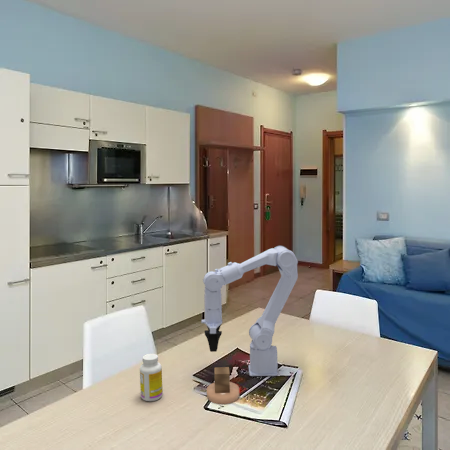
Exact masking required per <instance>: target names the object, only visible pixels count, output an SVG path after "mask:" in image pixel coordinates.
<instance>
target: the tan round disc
mask: <svg viewBox="0 0 450 450" xmlns="http://www.w3.org/2000/svg"><path fill="white" fill-rule="evenodd" d="M206 397H207V400H208V401H209V402H211V403H212V404H213V403H214V404H217V405H228V404H232V403H235V402H237V401H238V400H239V398H240V387H239V385H238V384H236V383H235V382H232V381H230V393H215V382H212V383H210V384H209V385H207V387H206ZM238 397H239V398H238Z"/></svg>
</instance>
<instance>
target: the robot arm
mask: <svg viewBox="0 0 450 450" xmlns="http://www.w3.org/2000/svg"><path fill="white" fill-rule="evenodd" d="M298 263H299V260H298V259H297V256H296V255H295V253H294V252H293V251H292V250H290V249H288V248H287V247H286V246H284V245H277V246H275V247H274V248H273V247H272V248H269V249H266V250H265V251H263V252H261V253H259V254H257V255H254V256H253V257H251V258H249V259H247V260H245V261H243V262H241V263H238V262H235V261H234V262H232V261H230V262H227V265H225V266H221V267H220V268H215V269H214V271H213V270H212V271H211V270H210V271H208V272H207V273H205V275H204V277H203V279H202V282H203V284H204V298H203V299H204V319H201V324H205V326H206V327H207V328H206V329H207V330H206V329H205V330H204V336H205V337H206V339H207V343H208V347H209V351H210V352H212V353H213V352H217V351H218V348H219V347H218V346H219V341H220V338H221V335H222V334H223V333H222V332H223V331H222V330H220V329H221V326H222V324H223V317H222V316H223V312H222V310H223V309H222V308H223V307H222V306H223V305H222V304H223V303H222V302H223V301H222V290H221V289H222V288H223V286H226V285H228V284H231V283H233V282H235V281H237V280H239V279H242V278H243V275H244V274H245V273H247V272H249V271H251V270H252V271H253V270H255V269H257V268H260V267H262V266H263V267H264V266H265V265H268V266H271V267H272V266H274V267H277V268H278V270H279V274H280V278H279V280H278V282H277V284H276V286H275V289H274V290H273V292H272V295H271V296H270V298H269V300H268V303H267V304H266V307H265V308H264V311H263V312H262V314H261V316H260V317H258V318H257V319H256V321H255V322H254V323H253V324H252V325H251V326H250V328H249V330H248V334H249V337H250V339H251V342H250V343H249V364H248V365H247V366H248V374H249V376H250V377H271V376H272V377H274V376H279V374H278V365H279V363H278V348H277V345H272V343H273V336H274V334H275V325H276V323H277V321H278V318H279V317H280V315H281V312H282V311H283V309H284V307H285V304H286V303H287V301H288V299H289V296H290V294H291V293H292V290H293V289H294V286H295V285H296V282H297V281H298V278H299V275H298Z"/></svg>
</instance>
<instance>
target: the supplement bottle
mask: <svg viewBox="0 0 450 450" xmlns="http://www.w3.org/2000/svg"><path fill="white" fill-rule="evenodd" d="M162 369H163V367H162V364H161V363H160V362H159V355H158V354H156V353H147V354H144V355H143V356H142V364H141V365H140V366H139V384H140V386H139V388H140V397H141V399H142V400H143V401H145V402H155V401H158V400H159V399H161V398H162V396H163V372H162V371H163V370H162Z"/></svg>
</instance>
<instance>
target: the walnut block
mask: <svg viewBox="0 0 450 450" xmlns="http://www.w3.org/2000/svg"><path fill="white" fill-rule="evenodd" d="M230 379H231V375H230V367H229V366H222V367H218V366H217V367H214V383H215V393H230V382H231V381H230Z"/></svg>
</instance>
